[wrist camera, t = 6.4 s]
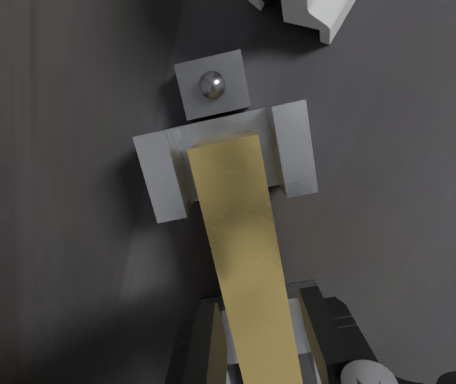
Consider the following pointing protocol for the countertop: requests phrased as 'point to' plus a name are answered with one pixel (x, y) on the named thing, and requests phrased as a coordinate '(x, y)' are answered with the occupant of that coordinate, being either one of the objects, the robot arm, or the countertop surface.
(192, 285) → the countertop surface
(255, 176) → the link bar
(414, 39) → the countertop surface
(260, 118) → the linkage with metal pins
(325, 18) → the white rounded housing
